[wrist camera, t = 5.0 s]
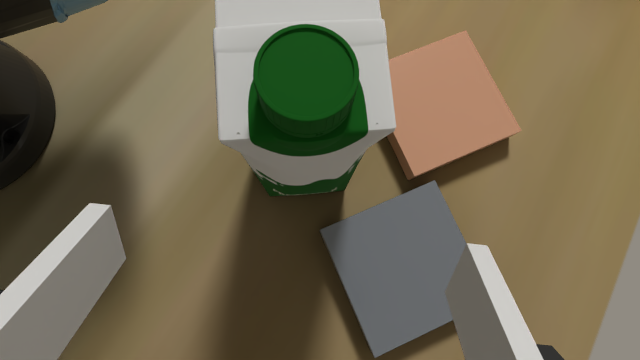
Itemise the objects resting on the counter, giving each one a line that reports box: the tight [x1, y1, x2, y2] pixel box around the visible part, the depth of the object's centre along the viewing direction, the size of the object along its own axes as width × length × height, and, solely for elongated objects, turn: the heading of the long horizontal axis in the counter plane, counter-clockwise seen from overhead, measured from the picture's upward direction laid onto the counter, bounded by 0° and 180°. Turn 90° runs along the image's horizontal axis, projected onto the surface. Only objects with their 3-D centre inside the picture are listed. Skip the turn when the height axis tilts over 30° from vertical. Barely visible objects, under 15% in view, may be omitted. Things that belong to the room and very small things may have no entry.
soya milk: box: [213, 0, 396, 196], centre depth 23 cm, size 9×9×20 cm
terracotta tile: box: [387, 30, 521, 181], centre depth 33 cm, size 11×11×2 cm
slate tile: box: [320, 180, 466, 358], centre depth 30 cm, size 11×11×2 cm
